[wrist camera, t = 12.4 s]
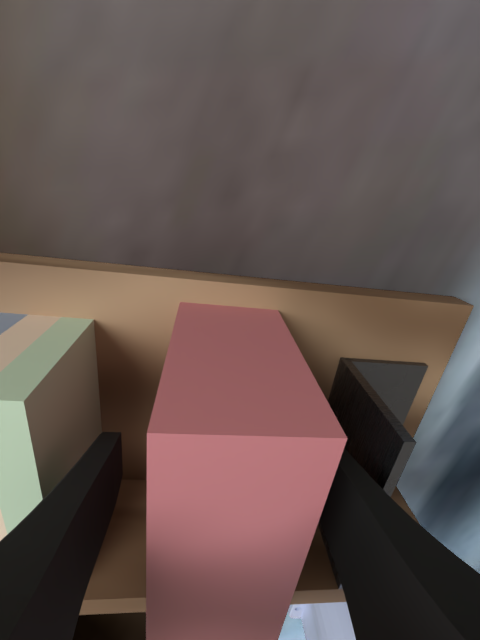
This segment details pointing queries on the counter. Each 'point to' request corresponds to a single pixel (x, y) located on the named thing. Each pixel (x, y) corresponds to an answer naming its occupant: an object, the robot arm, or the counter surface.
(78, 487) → the robot arm
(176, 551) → the tall pink block
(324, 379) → the shelf
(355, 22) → the counter surface
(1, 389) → the books
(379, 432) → the bookend
